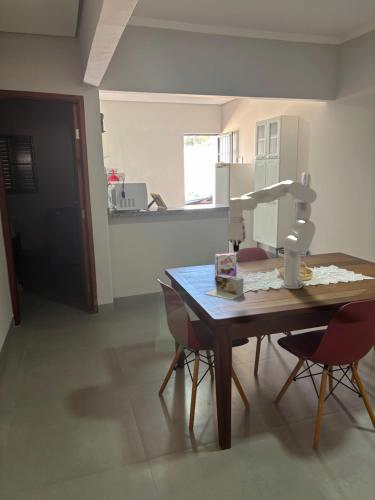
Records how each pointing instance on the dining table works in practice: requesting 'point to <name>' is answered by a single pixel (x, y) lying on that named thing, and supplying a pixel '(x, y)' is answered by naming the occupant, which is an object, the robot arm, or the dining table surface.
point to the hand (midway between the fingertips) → (236, 251)
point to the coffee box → (229, 284)
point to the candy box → (225, 264)
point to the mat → (223, 294)
